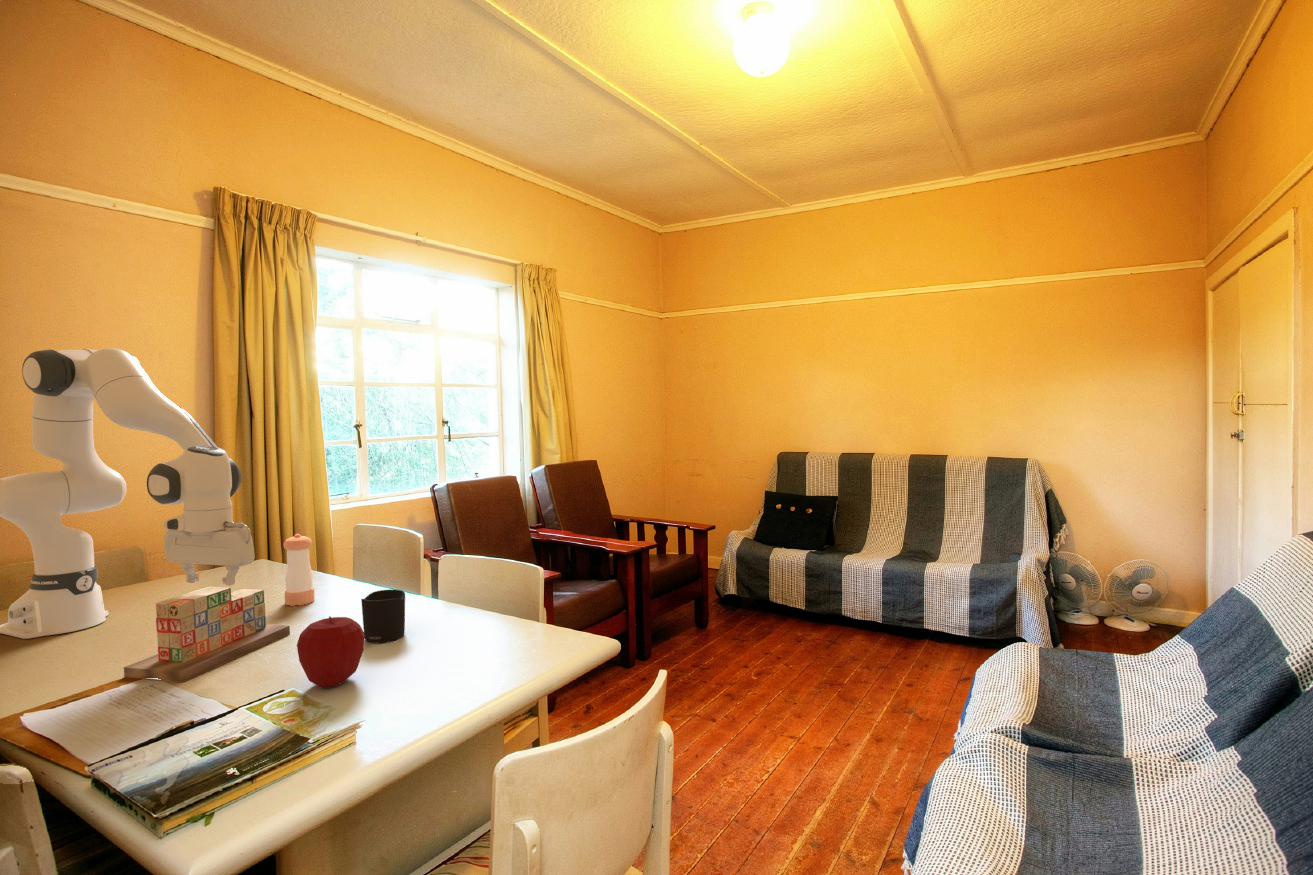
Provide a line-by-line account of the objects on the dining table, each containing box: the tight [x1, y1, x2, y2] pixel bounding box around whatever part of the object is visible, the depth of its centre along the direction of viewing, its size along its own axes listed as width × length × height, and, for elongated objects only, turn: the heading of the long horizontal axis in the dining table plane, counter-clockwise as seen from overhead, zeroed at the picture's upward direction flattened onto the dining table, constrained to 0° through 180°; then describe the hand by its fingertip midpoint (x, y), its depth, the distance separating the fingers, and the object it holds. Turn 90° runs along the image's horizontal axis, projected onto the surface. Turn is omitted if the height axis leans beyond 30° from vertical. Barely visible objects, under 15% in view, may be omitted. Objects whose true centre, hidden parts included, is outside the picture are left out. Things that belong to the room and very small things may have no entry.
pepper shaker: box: [282, 533, 315, 607], centre depth 181 cm, size 7×7×19 cm
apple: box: [296, 615, 365, 689], centre depth 126 cm, size 12×12×13 cm
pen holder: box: [361, 589, 406, 644], centre depth 152 cm, size 9×9×10 cm
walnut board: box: [123, 623, 291, 683], centre depth 143 cm, size 14×28×2 cm, turn 168°
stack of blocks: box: [155, 586, 267, 663], centre depth 143 cm, size 21×6×12 cm, turn 168°
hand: (210, 583), depth 142 cm, fingers open, 8 cm apart
